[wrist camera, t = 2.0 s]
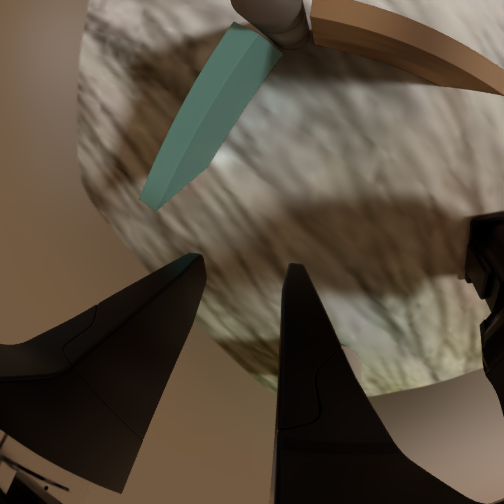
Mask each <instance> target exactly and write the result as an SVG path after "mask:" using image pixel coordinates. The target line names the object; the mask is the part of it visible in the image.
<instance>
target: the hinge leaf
mask: <svg viewBox="0 0 504 504" xmlns="http://www.w3.org/2000/svg"><path fill="white" fill-rule="evenodd" d="M258 30H259V29H258ZM260 31H261V30H260ZM307 31H308V21H307V17H306V12H305V15H304V18H303V20H302V22H301V23H300V25H299V26H298V27H297V28H295V29H294V30H292V31H290V32H287V33H283V34H269V33H265V32H263V31H261V32H262V33H263V34H264V35H266V36H267V37H268V38H269V39H270V40H272V41H274V42H276V43H279V44H293V43H296V42H298V41H300V40H301V39H302V38H303V37H304V36H305V35H306V33H307ZM282 55H283V53H282V52H281V51H279V50H278V49H277V48H276V47H275V46H273V45H272V44H271V43H270V42H268V41H267V40H266V39H265V38H263V37H262V36H261V35H259V34H258V33H256V32H254V31H252V30H250V29H248V28H246V27H244V26H242V25H240V24H238V23H236V22H233V23H232V25H231V26H230V28H229V29H228V31H227V32H226V34H225V35H224V36H223V38H222V39H221V41H220V42H219V44H218V45H217V47H216V49H215V50H214V52H213V53H212V55H211V56H210V58H209V60H208V61H207V63H206V64H205V66H204V68H203V69H202V71H201V73H200V74H199V76H198V78H197V80H196V81H195V83H194V85H193V86H192V88H191V90H190V92H189V94H188V95H187V97H186V99H185V101H184V103H183V105H182V106H181V108H180V110H179V112H178V114H177V116H176V118H175V120H174V122H173V124H172V126H171V128H170V130H169V132H168V134H167V136H166V138H165V140H164V142H163V144H162V147H161V149H160V151H159V153H158V155H157V157H156V160H155V162H154V164H153V166H152V169H151V171H150V173H149V176H148V178H147V181H146V183H145V185H144V188H143V190H142V193H141V195H140V198H139V200H141V201H142V202H144V203H145V204H147V205H148V206H150V207H151V208H152V209H154V210H155V211H157V210H158V209H159V208H161V207H162V206H163V205H164V204H165V203H166V202H167V201H168V200H170V199H171V198H172V197H173V196H174V195H175V194H176V193H178V192H179V191H180V190H181V189H182V188H183V187H185V186H186V185H187V184H188V183H189V182H190V181H192V180H193V179H194V178H195V177H196V176H198V175H199V174H200V173H201V172H203V171H204V170H205V169H206V168H207V167H208V166H209V164H210V163H211V161H212V159H213V158H214V156H215V154H216V153H217V151H218V149H219V148H220V146H221V145H222V143H223V141H224V140H225V138H226V137H227V135H228V133H229V132H230V130H231V129H232V127H233V126H234V124H235V122H236V121H237V119H238V118H239V116H240V115H241V113H242V112H243V110H244V109H245V107H246V106H247V104H248V103H249V101H250V100H251V98H252V97H253V95H254V94H255V92H256V91H257V90H258V88H259V87H260V85H261V84H262V82H263V81H264V80H265V78H266V77H267V75H268V74H269V73H270V71H271V70H272V68H273V67H274V66H275V64H276V63H277V62H278V60H279V59H280V58H281V56H282Z"/></svg>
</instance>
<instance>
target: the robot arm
mask: <svg viewBox="0 0 504 504" xmlns="http://www.w3.org/2000/svg"><path fill="white" fill-rule="evenodd" d="M476 223H477V225H476V226H475V224H476ZM465 270H466V274H465V280H466V282H467V283H473V285H474V287H475V289H476V291H477V293H478V295H479V297H480V298H481V299H482V300H483V299H485V300H486V302H487V304H488V306H489V309H490V311H491V314H490V315H489V316H488V317H487V319H486V320H484V321H483V322H482V323H481V324H480V333H481V344H482V360H483V367H484V372H485V375H486V377H487V378H488V380H489V381H490V382H491V384H492V385H493V387H494V389H495V391H496V393H497V395H498V398H499V401H500V404H501V408H502V411H503V416H504V213H501V214H495V215H489V216H483V217H477V218H474V219H473V220H472V221H471V224H470V238H469V244H468V246H467V255H466V263H465ZM206 280H207V275H206V269H205V263H204V258H203V256H202V255H201V254H197V253H188V254H186V255H184V256H182V257H180V258H179V259H177V260H175V261H173V262H171V263H169V264H168V265H166V266H164V267H162V268H160V269H158V270H157V271H155V272H153V273H151V274H149V275H148V276H146V277H144V278H142V279H140V280H139V281H137V282H135V283H133V284H131V285H130V286H128V287H126V288H124V289H123V290H121V291H119V292H117V293H116V294H114V295H112V296H110V297H109V298H107V299H105V300H103V301H102V302H100V303H99V304H98V305H95V306H93V307H91V308H90V309H88V310H86V311H84V312H83V313H81V314H79V315H77V316H75V317H74V318H72V319H70V320H68V321H66V322H64V323H62V324H60V325H58V326H56V327H54V328H52V329H50V330H48V331H46V332H44V333H42V334H40V335H38V336H36V337H34V338H32V339H30V340H28V341H26V342H24V343H20V344H15V345H5V344H0V504H84V502H85V500H86V498H87V496H88V493H89V491H90V489H91V487H92V485H93V483H95V484H97V485H99V486H102V487H104V488H106V489H109V490H112V491H114V492H117V493H120V494H121V493H122V491H123V489H124V487H125V484H126V482H127V479H128V477H129V474H130V471H131V469H132V467H133V464H134V462H135V459H136V457H137V454H138V452H139V449H140V447H141V444H142V442H143V439H144V436H145V434H146V432H147V429H148V427H149V424H150V422H151V420H152V417H153V415H154V413H155V410H156V408H157V405H158V403H159V401H160V398H161V396H162V394H163V391H164V389H165V387H166V384H167V382H168V380H169V377H170V375H171V373H172V370H173V368H174V366H175V364H176V361H177V359H178V357H179V354H180V352H181V350H182V348H183V345H184V343H185V341H186V339H187V336H188V334H189V332H190V329H191V327H192V325H193V322H194V319H195V316H196V313H197V310H198V307H199V303H200V300H201V297H202V294H203V291H204V288H205V285H206ZM341 348H342V346H341V344H340V342H339V339H338V337H337V335H336V333H335V330H334V328H333V326H332V324H331V322H330V319H329V317H328V315H327V313H326V311H325V309H324V306H323V304H322V302H321V300H320V298H319V296H318V294H317V291H316V289H315V287H314V285H313V283H312V281H311V279H310V277H309V275H308V273H307V270H306V268H305V266H304V265H303V264H296V263H290V264H289V265H288V269H287V273H286V276H285V280H284V284H283V288H282V299H281V323H280V344H279V367H278V388H277V406H276V424H275V438H274V451H273V464H272V477H271V488H270V499H269V504H484V503H480V502H476V501H474V500H472V499H469V498H468V497H465V496H464V495H463V494H461V493H459V492H458V491H456V490H455V489H453V488H451V487H450V486H448V485H447V484H445V483H444V482H442V481H440V480H439V479H438V478H436V477H435V476H433V475H432V474H430V473H429V472H427V471H426V470H424V469H423V468H421V467H420V466H418V465H417V464H415V463H414V462H413V461H411V460H410V459H409V458H408V457H407V456H405V455H404V454H403V453H402V451H401V450H400V449H399V448H398V447H397V445H396V444H395V443H394V441H393V439H392V438H391V436H390V435H389V433H388V431H387V430H386V428H385V426H384V425H383V423H382V421H381V419H380V418H379V416H378V414H377V413H376V411H375V409H374V408H373V406H372V404H371V403H370V401H369V399H368V398H367V396H366V394H365V392H364V391H363V389H362V387H361V385H360V384H359V382H358V380H357V378H356V376H355V374H354V372H353V370H352V368H351V366H350V364H349V362H348V359H347V357H346V355H345V352H344V350H343V349H341ZM490 504H504V498H503V499H501V500H498V501H496V502H493V503H490Z"/></svg>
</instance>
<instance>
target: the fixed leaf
mask: <svg viewBox="0 0 504 504" xmlns="http://www.w3.org/2000/svg"><path fill="white" fill-rule="evenodd" d="M231 4H232V6H233V8H234V9H235V11H236V12H237V13H238V14H239V15H241V16H242V17H243V18H245V19H246V20H247V21H248V22H250V23H251V24H252V25H253V26H255V27H256V28H257V29H259V30H261V31H263V32H265V33H269V34H283V33H287V32H290V31H292V30H294V29H295V28H297V27H298V26H299V25H300V23H301V22H302V20H303V18H304V15H305V8H304V4H303V0H231ZM310 20H311V26H312V32H313V38H314V45H319V46H324V47H328V48H333V49H337V50H341V51H345V52H349V53H353V54H356V55H360V56H363V57H367V58H370V59H373V60H376V61H379V62H382V63H385V64H388V65H391V66H394V67H396V68H399V69H402V70H404V71H407V72H410V73H412V74H415V75H417V76H419V77H422V78H424V79H426V80H429V81H431V82H433V83H435V84H437V85H439V86H442V87H451V88H459V89H467V90H474V91H480V92H486V93H491V94H496V95H501V96H504V70H503V69H502V68H500V67H499V66H497V65H496V64H494V63H493V62H491V61H490V60H488V59H487V58H485V57H484V56H482V55H481V54H479V53H477V52H476V51H474V50H472V49H471V48H469V47H467V46H465V45H464V44H462V43H460V42H458V41H456V40H455V39H453V38H451V37H449V36H447V35H445V34H443V33H441V32H439V31H437V30H435V29H432V28H430V27H428V26H426V25H423V24H421V23H419V22H416V21H414V20H412V19H409V18H407V17H404V16H401V15H399V14H396V13H393V12H390V11H387V10H384V9H381V8H378V7H375V6H372V5H368V4H365V3H361V2H358V1H354V0H312V6H311V12H310ZM309 36H310V30H309V26H308V31H307V33H306V35H305V36H304V37H303V38H302V39H301V40H300V41H298V42H296V43H293V44H279V43H276V42H274V41H273V42H274V43H275V44H276V45H277V46H279V47H281V48H284V49H297V48H300V47H302V46H303V45H304V44H306V42H307V41H308V39H309ZM271 41H272V40H271Z"/></svg>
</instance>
